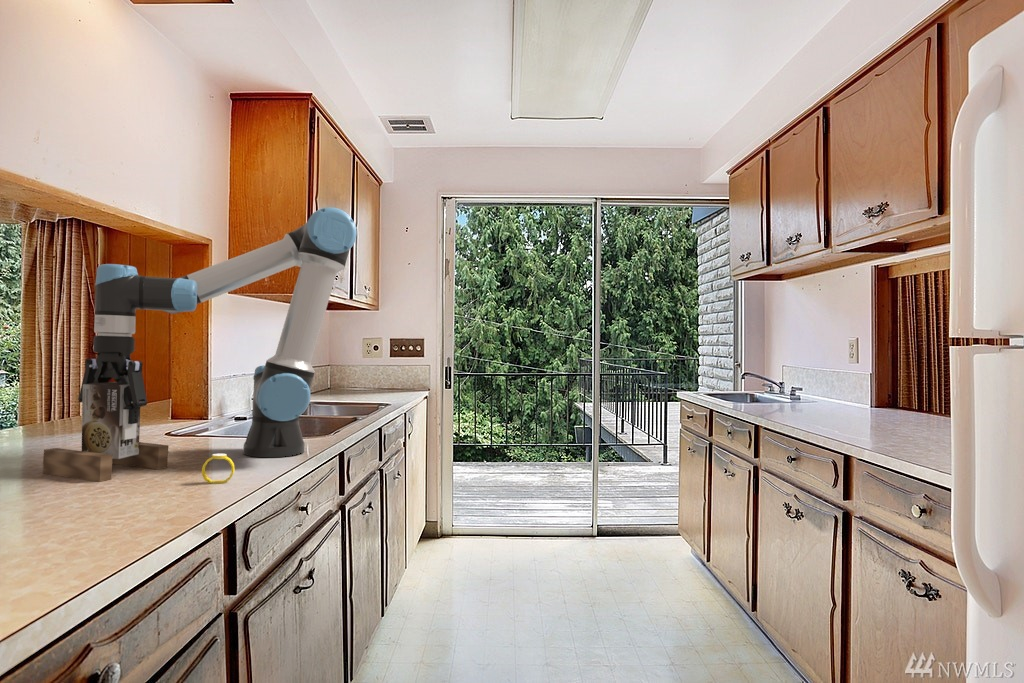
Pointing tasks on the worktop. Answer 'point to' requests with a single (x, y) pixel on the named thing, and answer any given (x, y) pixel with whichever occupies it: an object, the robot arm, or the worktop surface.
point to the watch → (218, 456)
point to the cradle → (100, 462)
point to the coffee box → (106, 421)
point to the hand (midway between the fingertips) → (111, 436)
